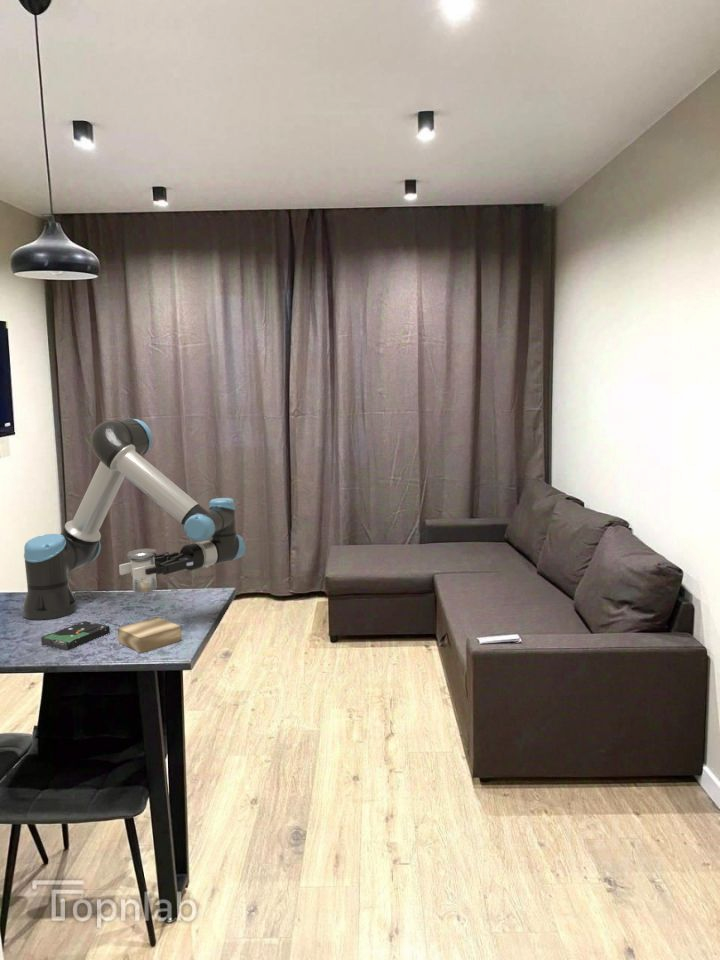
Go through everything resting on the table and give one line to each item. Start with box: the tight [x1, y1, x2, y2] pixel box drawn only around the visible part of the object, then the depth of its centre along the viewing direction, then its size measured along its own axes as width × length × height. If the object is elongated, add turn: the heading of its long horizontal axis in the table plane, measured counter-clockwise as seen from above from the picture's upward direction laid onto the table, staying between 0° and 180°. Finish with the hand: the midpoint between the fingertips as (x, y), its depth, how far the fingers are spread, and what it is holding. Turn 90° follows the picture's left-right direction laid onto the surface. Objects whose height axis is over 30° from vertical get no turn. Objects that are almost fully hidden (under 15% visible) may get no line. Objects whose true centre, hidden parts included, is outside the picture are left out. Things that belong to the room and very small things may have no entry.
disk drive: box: [40, 620, 111, 651], centre depth 197 cm, size 10×3×15 cm
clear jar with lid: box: [126, 548, 158, 593], centre depth 199 cm, size 8×8×11 cm
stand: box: [117, 616, 182, 654], centre depth 193 cm, size 12×12×4 cm
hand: (126, 571), depth 195 cm, fingers closed on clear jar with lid, 6 cm apart
